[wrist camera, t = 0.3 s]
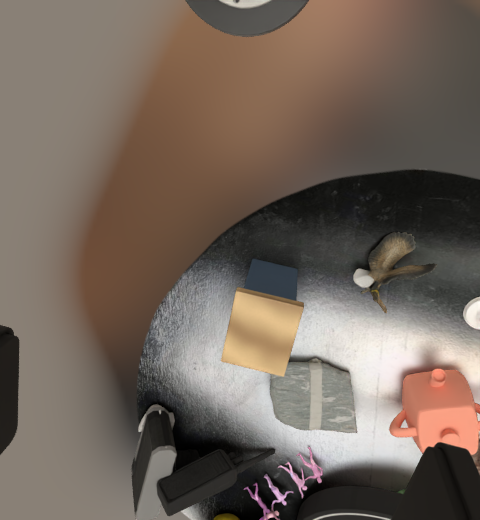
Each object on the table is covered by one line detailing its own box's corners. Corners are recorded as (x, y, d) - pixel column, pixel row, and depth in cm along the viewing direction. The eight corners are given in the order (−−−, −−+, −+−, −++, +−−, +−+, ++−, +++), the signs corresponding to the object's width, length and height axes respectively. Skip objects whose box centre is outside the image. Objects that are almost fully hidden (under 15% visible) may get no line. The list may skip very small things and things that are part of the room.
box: (252, 258, 64) (241, 295, 53) (297, 268, 64) (296, 308, 53) (241, 306, 67) (229, 350, 56) (284, 316, 67) (280, 363, 56)
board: (237, 286, 53) (235, 291, 52) (304, 302, 52) (303, 307, 51) (222, 356, 57) (220, 361, 56) (284, 371, 56) (283, 377, 55)
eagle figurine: (397, 307, 63) (446, 265, 58) (375, 318, 57) (428, 273, 52) (360, 267, 65) (405, 223, 61) (337, 273, 60) (383, 226, 55)
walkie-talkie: (151, 477, 71) (256, 429, 81) (163, 518, 70) (268, 463, 79) (160, 479, 66) (271, 427, 76) (173, 523, 65) (285, 464, 74)
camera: (214, 445, 70) (201, 399, 78) (150, 448, 66) (144, 399, 75) (189, 518, 77) (180, 468, 85) (130, 524, 73) (126, 471, 82)
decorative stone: (271, 406, 73) (269, 432, 68) (271, 352, 69) (268, 376, 64) (353, 411, 71) (357, 438, 66) (357, 356, 68) (362, 381, 62)
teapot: (368, 388, 69) (378, 436, 60) (426, 339, 65) (446, 383, 56) (435, 439, 71) (455, 493, 62) (496, 394, 67) (527, 445, 57)
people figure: (304, 455, 72) (333, 496, 71) (312, 438, 77) (339, 476, 76) (224, 500, 78) (250, 539, 77) (236, 481, 84) (260, 517, 83)
